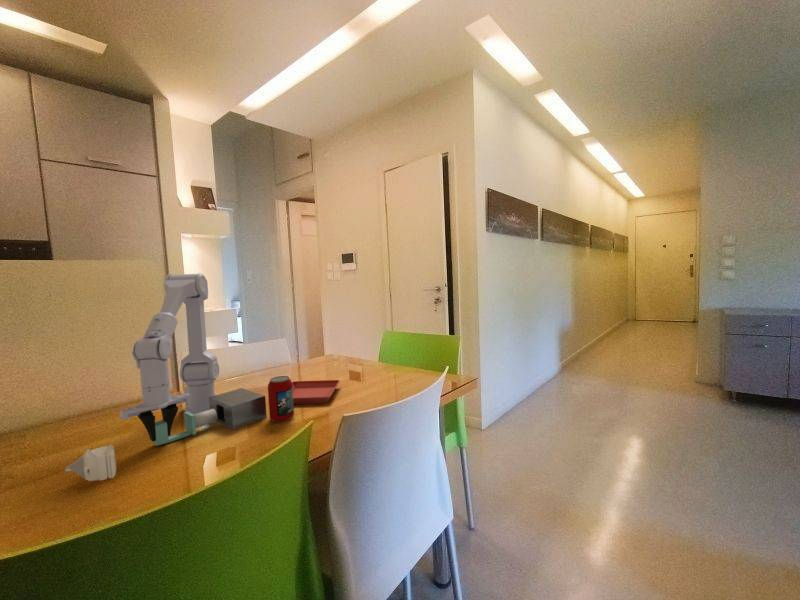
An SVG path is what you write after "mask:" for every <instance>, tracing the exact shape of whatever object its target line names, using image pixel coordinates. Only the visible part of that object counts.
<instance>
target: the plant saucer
mask: <svg viewBox="0 0 800 600" xmlns="http://www.w3.org/2000/svg"><path fill="white" fill-rule="evenodd" d="M291 382H292V389H293V405H308V404H309V405H311V404H312V403H314V405H315V404H326V403H328V402H329V400H330V398H331V396H332V395H333V393H334V392H335V390H336V389H337V387H338V385H339V383H340V379H331V380H330V379H329V380H328V379H327V380H326V379H325V380H321V379H320V380H298V381H297V380H296V381H295V380H294V381H291Z"/></svg>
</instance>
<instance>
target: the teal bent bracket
mask: <svg viewBox="0 0 800 600" xmlns="http://www.w3.org/2000/svg"><path fill="white" fill-rule="evenodd" d="M183 415H184V417H183V418H184V429H185V431H182V432H179V433H176V434H173V435H170V436H168V430H167V422H165V421H163V419H161V420H159V421H155V433H156V441H152V444H154V445H155V446H156V447H157V446H160V445H164V444H168V443H172V442H175V441H177V440H180V439H183V438H186V437H188V436H191V435H196V434H197V428H200V427H203V426H206V425H210V424H211V423H215V422H217V421H216V420H217V413H216V411H215V409H210V410H207V411H204V412H201V413H197V414H192V413H190V412H188V411H187V412H186V411H184V412H183Z"/></svg>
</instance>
